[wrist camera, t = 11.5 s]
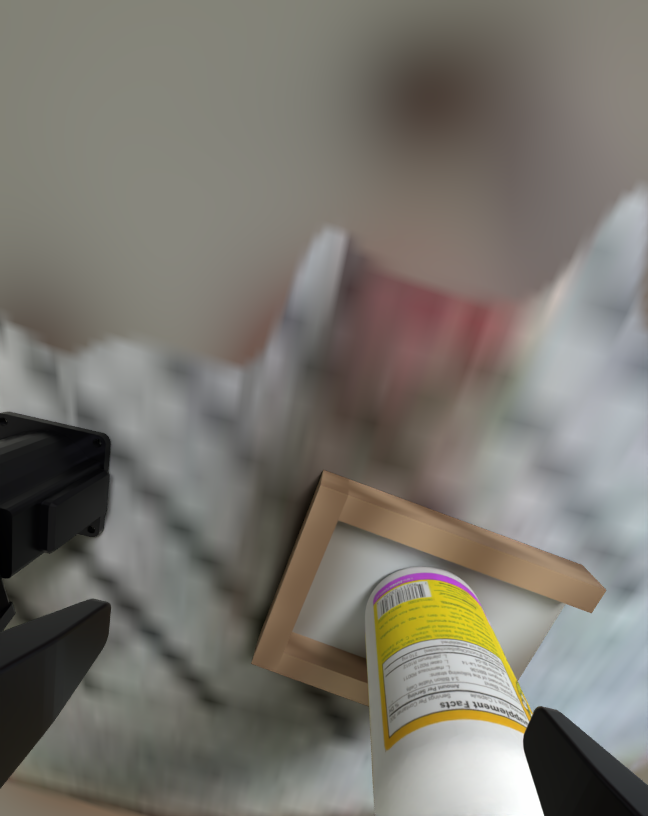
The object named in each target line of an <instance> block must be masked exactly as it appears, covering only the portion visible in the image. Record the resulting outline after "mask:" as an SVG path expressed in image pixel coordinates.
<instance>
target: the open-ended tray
mask: <svg viewBox="0 0 648 816" xmlns="http://www.w3.org/2000/svg"><path fill="white" fill-rule="evenodd" d="M418 566H426V567H434V568H438V569H443V570H446V571H448V572H450V573H452V574H454V575H456V576H457V577H459V578H460V579H462V580H463V581H464V582H465V583H466V584H467V585H468V586H469V587H470V588H471V589H472V591H473V592H474V593H475V595H476V596H477V598H478V600H479V602H480V604H481V606H482V608H483V610H484V612H485V614H486V616H487V618H488V620H489V622H490V625H491V627H492V629H493V631H494V633H495V635H496V637H497V639H498V642H499V644H500V646H501V648H502V650H503V652H504V654H505V657H506V659H507V661H508V663H509V665H510V667H511V669H512V671H513V673H514V675H515V677H516V679H517V681H518V680H519V678H520V677H521V675H522V673H523V672H524V670H525V669H526V667H527V665H528V664H529V662H530V661H531V659H532V657H533V656H534V654H535V652H536V651H537V649H538V648H539V646H540V644H541V643H542V641H543V640H544V638H545V636H546V635H547V633H548V632H549V630H550V628H551V627H552V625H553V623H554V622H555V620H556V619H557V617H558V615H559V614H560V612H561V611H562V609H563V607H564V606H565V604H568V605H570V606H573V607H576V608H579V609H581V610H584V611H587V612H590V613H592V612H593V610H594V609H595V607H596V606H597V604H598V603H599V601H600V599H601V598H602V596H603V595H604V593H605V592H606V589H605V588H604V587H603V586H602V585H601V584H600V583H599V582H598V581H597V580H596V579H595V578H594V577H593V576H592V575H591V574H590V573H589V572H588V570H587V569H586V568H585V567H584V566H583V565H581V564H578V563H575V562H572V561H570V560H567V559H564V558H562V557H559V556H556V555H553V554H551V553H548V552H545V551H543V550H540V549H537V548H534V547H532V546H529V545H526V544H524V543H521V542H518V541H515V540H513V539H510V538H507V537H505V536H502V535H499V534H496V533H494V532H491V531H488V530H486V529H483V528H480V527H477V526H475V525H472V524H469V523H466V522H464V521H461V520H458V519H456V518H453V517H450V516H447V515H445V514H442V513H439V512H437V511H434V510H431V509H428V508H426V507H423V506H420V505H418V504H415V503H412V502H409V501H407V500H404V499H401V498H399V497H396V496H393V495H390V494H388V493H385V492H382V491H380V490H377V489H374V488H371V487H369V486H366V485H363V484H361V483H358V482H355V481H352V480H350V479H347V478H344V477H342V476H339V475H336V474H333V473H331V472H328V471H325V470H323V473H322V475H321V478H320V480H319V483H318V486H317V488H316V491H315V493H314V496H313V498H312V501H311V504H310V506H309V509H308V511H307V514H306V517H305V519H304V522H303V524H302V527H301V529H300V532H299V535H298V537H297V540H296V542H295V545H294V547H293V550H292V553H291V555H290V558H289V560H288V563H287V566H286V568H285V571H284V573H283V576H282V578H281V581H280V584H279V586H278V589H277V591H276V594H275V597H274V599H273V602H272V604H271V607H270V609H269V612H268V615H267V617H266V620H265V622H264V625H263V627H262V630H261V633H260V635H259V639H258V642H257V645H256V649H255V652H254V655H253V659H252V662H251V664H253V665H256V666H259V667H262V668H264V669H267V670H270V671H273V672H275V673H278V674H281V675H284V676H286V677H289V678H292V679H295V680H297V681H300V682H303V683H306V684H308V685H311V686H314V687H317V688H319V689H322V690H325V691H328V692H330V693H333V694H336V695H339V696H341V697H344V698H347V699H350V700H352V701H355V702H358V703H361V704H363V705H366V706H369V694H368V675H367V658H366V640H365V610H366V605H367V602H368V599H369V597H370V595H371V593H372V592H373V590H374V589H375V588H376V586H377V585H378V584H379V583H380V582H381V581H382V580H383V579H385V578H386V577H388V576H389V575H391V574H393V573H394V572H397V571H399V570H402V569H405V568H409V567H418Z"/></svg>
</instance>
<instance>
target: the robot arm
mask: <svg viewBox="0 0 648 816" xmlns="http://www.w3.org/2000/svg"><path fill="white" fill-rule="evenodd" d="M5 419H6V420H7V422H6V420H5ZM98 439H99V440H100V441H101V445H100V444H99V443H98ZM109 453H110V439H109V437H108V436H107V435H106V434H104V433H101V432H97V431H92V430H88V429H83V428H79V427H75V426H70V425H66V424H61V423H57V422H52V421H48V420H44V419H39V418H35V417H30V416H26V415H22V414H17V413H13V412H3V413H0V788H1V787H2V786H3V785H4V783H5V782H6V781H7V780H8V778H9V777H10V776H11V775H12V773H13V772H14V771H15V770H16V768H17V767H18V766H19V765H20V764H21V762H22V761H23V760H24V759H25V757H26V756H27V755H28V754H29V752H30V751H31V750H32V749H33V747H34V746H35V745H36V744H37V742H38V741H39V740H40V739H41V737H42V736H43V735H44V733H45V732H46V731H47V730H48V728H49V727H50V726H51V724H52V723H53V722H54V720H55V719H56V717H57V716H58V715H59V713H60V712H61V710H62V709H63V707H64V706H65V704H66V703H67V701H68V700H69V698H70V697H71V695H72V694H73V692H74V691H75V690H76V688H77V687H78V685H79V684H80V682H81V681H82V679H83V678H84V676H85V675H86V673H87V672H88V670H89V669H90V667H91V666H92V664H93V663H94V661H95V660H96V658H97V657H98V655H99V654H100V652H101V651H102V649H103V647H104V645H105V644H106V641H107V638H108V634H109V625H110V614H111V605H110V603H108V602H105V601H101V600H97V599H89V600H86V601H83V602H81V603H78V604H75V605H72V606H70V607H67V608H64V609H62V610H59V611H56V612H54V613H51V614H48V615H45V616H43V617H40V618H37V619H35V620H32V621H29V622H26V623H24V624H21V625H18V626H16V627H13V628H10V629H8V630H5V631H3V630H4V628H5V627H6V626H7V624H8V623H9V622H10V620H11V619H12V617H13V616H14V615H15V613H16V612H15V609H14V606H13V603H12V602H9V600H8V596H7V593H6V590H5V587H4V584H3V581H2V578H10V577H11V576H13V575H14V574H15V573H17V572H18V571H20V570H21V569H22V568H24V567H25V566H26V565H28V564H29V563H30V562H32V561H33V560H34V559H36V558H37V557H39V556H40V555H41V554H43V553H49V554H50V553H52V552H54V551H55V550H57V549H58V548H59V547H61V546H62V545H63V544H65V543H66V542H67V541H68V540H70V539H71V538H72V537H74V536H75V535H76V534H81V535H85V536H89V537H95V536H97V535H98V534H100V533H101V532H102V531H103V529H104V518H105V512H106V511H107V500H108V487H109V472H108V466H109ZM92 526H93V527H94V528H95V529H93V528H92ZM523 748H524V753H525V757H526V760H527V763H528V766H529V769H530V773H531V776H532V779H533V782H534V785H535V789H536V792H537V795H538V798H539V801H540V805H541V808H542V811H543V814H544V816H648V785H647V784H645V783H644V782H643V781H642V780H641V779H640V778H638V777H637V776H636V775H635V774H634V773H632V772H631V771H630V770H629V769H628V768H626V767H625V766H624V765H623V764H622V763H621V762H619V761H618V760H617V759H616V758H615V757H613V756H612V755H611V754H610V753H609V752H607V751H606V750H605V749H604V748H603V747H601V746H600V745H599V744H598V743H597V742H595V741H594V740H593V739H592V738H591V737H590V736H588V735H587V734H586V733H585V732H584V731H582V730H581V729H580V728H579V727H578V726H576V725H575V724H574V723H573V722H572V721H570V720H569V719H568V718H567V717H566V716H564V715H563V714H562V713H561V712H559V711H557V710H554V709H550V708H546V707H542V706H539V707H537V708H536V709H535V710H534V712H533V714H532V717H531V719H530V721H529V723H528V726H527V728H526V730H525V733H524V736H523Z"/></svg>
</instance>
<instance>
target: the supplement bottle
mask: <svg viewBox="0 0 648 816" xmlns="http://www.w3.org/2000/svg"><path fill="white" fill-rule="evenodd" d="M365 640H366V658H367V675H368V694H369V713H370V732H371V753H372V776H373V795H374V809H375V816H544V814H543V811H542V808H541V805H540V801H539V798H538V795H537V792H536V789H535V785H534V782H533V779H532V776H531V773H530V769H529V766H528V763H527V760H526V757H525V753H524V748H523V736H524V733H525V730H526V728H527V726H528V723H529V721H530V719H531V717H532V714H533V713H532V711H531V709H530V707H529V705H528V703H527V701H526V698H525V696H524V694H523V692H522V690H521V688H520V686H519V684H518V682H517V679H516V677H515V675H514V673H513V671H512V669H511V667H510V665H509V663H508V661H507V659H506V657H505V654H504V652H503V650H502V648H501V646H500V644H499V642H498V639H497V637H496V635H495V633H494V631H493V629H492V627H491V625H490V622H489V620H488V618H487V616H486V614H485V612H484V610H483V608H482V606H481V604H480V602H479V600H478V598H477V596H476V595H475V593H474V592H473V591H472V589H471V588H470V587H469V586H468V585H467V584H466V583H465V582H464V581H463V580H462V579H460V578H459V577H457V576H456V575H454V574H452V573H450V572H448V571H446V570H443V569H438V568H434V567H426V566H418V567H409V568H405V569H402V570H399V571H397V572H394V573H393V574H391V575H389V576H388V577H386V578H385V579H383V580H382V581H381V582H380V583H379V584H378V585H377V586H376V588H375V589H374V590H373V592H372V593H371V595H370V597H369V599H368V602H367V605H366V610H365Z"/></svg>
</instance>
